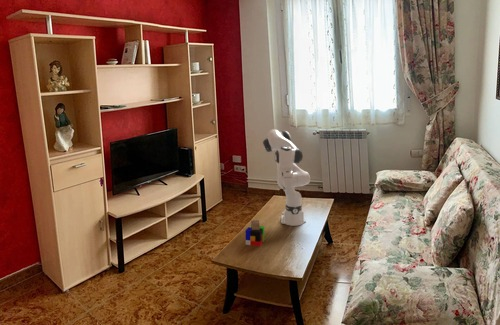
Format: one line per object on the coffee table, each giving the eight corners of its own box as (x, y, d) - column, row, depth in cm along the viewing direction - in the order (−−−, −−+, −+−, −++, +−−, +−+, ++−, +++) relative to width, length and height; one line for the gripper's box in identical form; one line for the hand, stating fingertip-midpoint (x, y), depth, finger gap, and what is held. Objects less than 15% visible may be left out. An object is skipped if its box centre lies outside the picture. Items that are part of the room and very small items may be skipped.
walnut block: (251, 227, 278) (251, 220, 277) (258, 226, 279) (258, 219, 278) (252, 230, 274) (251, 223, 272) (259, 229, 274) (259, 222, 273)
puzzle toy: (245, 244, 275) (245, 230, 273) (250, 238, 285) (250, 225, 282) (260, 246, 272) (260, 232, 270) (264, 240, 282) (264, 226, 279)
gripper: (278, 167, 281) (278, 187, 284) (283, 175, 261) (283, 196, 264) (287, 167, 282) (287, 186, 285) (293, 175, 262) (293, 195, 265)
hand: (285, 191), depth 274 cm, fingers open, 8 cm apart
